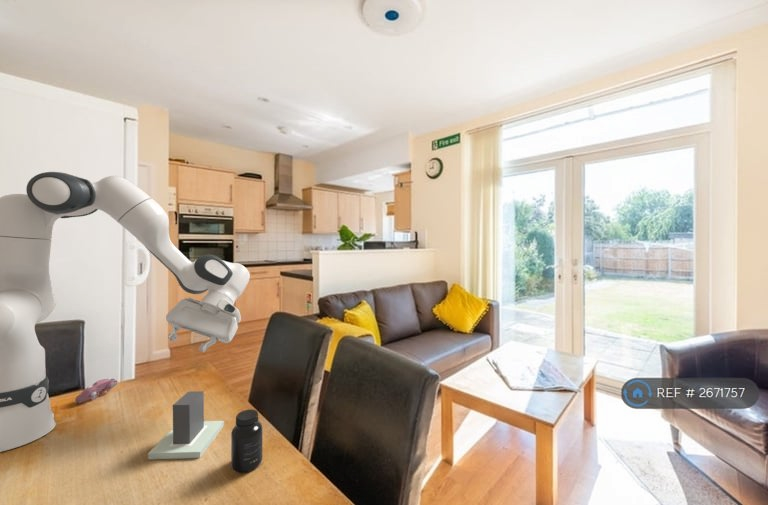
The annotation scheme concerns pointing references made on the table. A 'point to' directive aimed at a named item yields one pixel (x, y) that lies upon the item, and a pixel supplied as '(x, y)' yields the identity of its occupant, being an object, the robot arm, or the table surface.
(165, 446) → the pin board
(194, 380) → the table surface
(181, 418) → the block
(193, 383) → the table surface
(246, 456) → the supplement bottle
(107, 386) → the video game controller
